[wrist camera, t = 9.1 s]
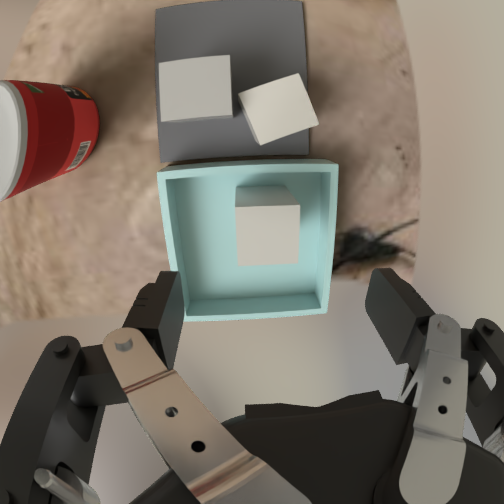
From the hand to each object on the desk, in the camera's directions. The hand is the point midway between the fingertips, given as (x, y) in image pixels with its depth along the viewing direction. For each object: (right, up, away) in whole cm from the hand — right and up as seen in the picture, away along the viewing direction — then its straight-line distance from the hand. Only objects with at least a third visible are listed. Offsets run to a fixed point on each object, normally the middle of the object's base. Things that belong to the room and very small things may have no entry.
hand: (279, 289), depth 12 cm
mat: (-3, +16, +8) cm, 18 cm away
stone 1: (-5, +13, +8) cm, 16 cm away
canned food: (-18, +13, +9) cm, 23 cm away
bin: (-1, +3, +14) cm, 14 cm away
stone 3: (0, +5, +12) cm, 13 cm away
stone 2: (0, +12, +9) cm, 15 cm away
